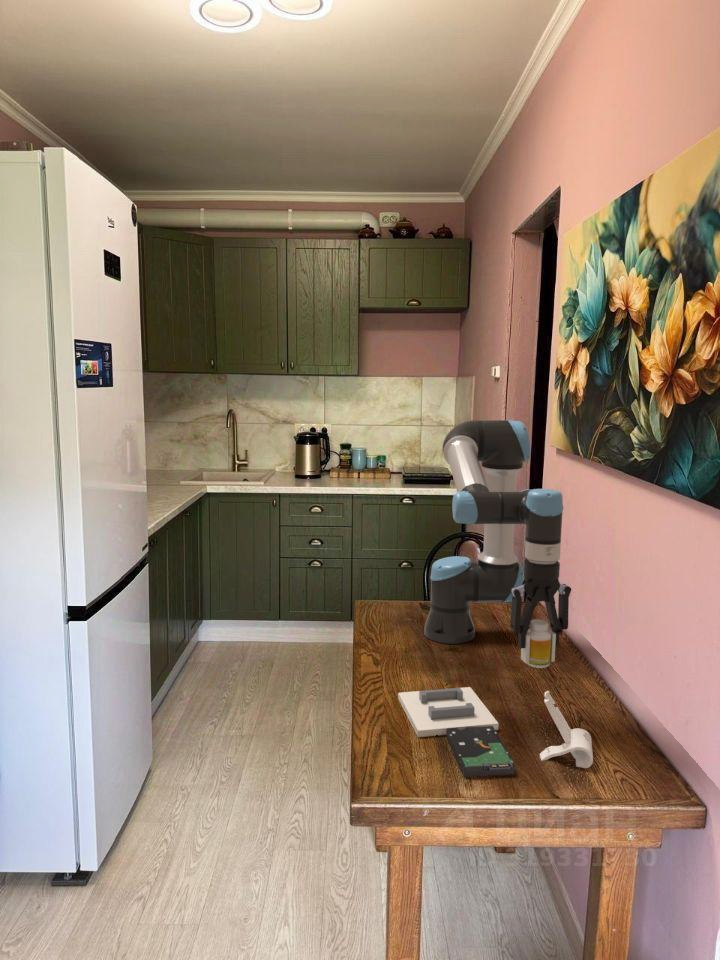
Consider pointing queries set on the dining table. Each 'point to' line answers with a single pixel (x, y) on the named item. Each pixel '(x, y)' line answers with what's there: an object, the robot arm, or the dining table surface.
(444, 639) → the robot arm
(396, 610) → the dining table surface
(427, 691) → the bottle holder
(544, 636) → the supplement bottle
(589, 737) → the plastic part
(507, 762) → the disk drive
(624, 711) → the dining table surface
